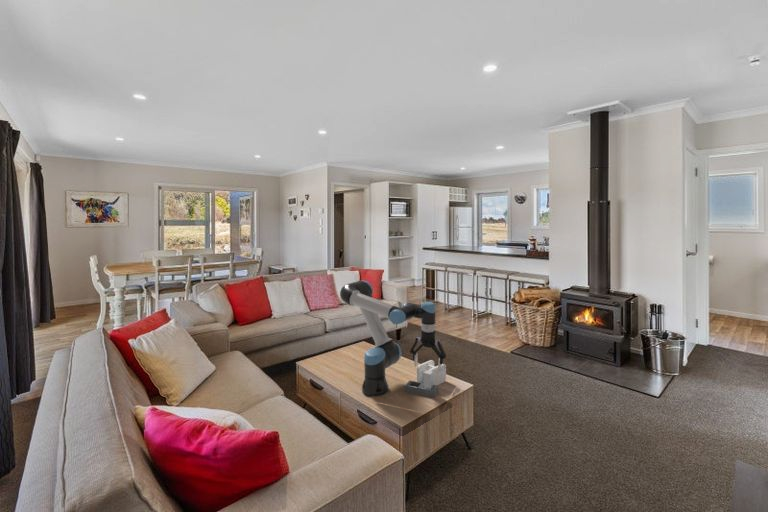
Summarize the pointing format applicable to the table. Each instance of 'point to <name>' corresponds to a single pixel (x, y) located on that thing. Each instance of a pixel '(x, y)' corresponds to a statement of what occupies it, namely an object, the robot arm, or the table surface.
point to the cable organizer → (437, 375)
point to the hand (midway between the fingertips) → (427, 367)
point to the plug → (428, 380)
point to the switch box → (420, 389)
